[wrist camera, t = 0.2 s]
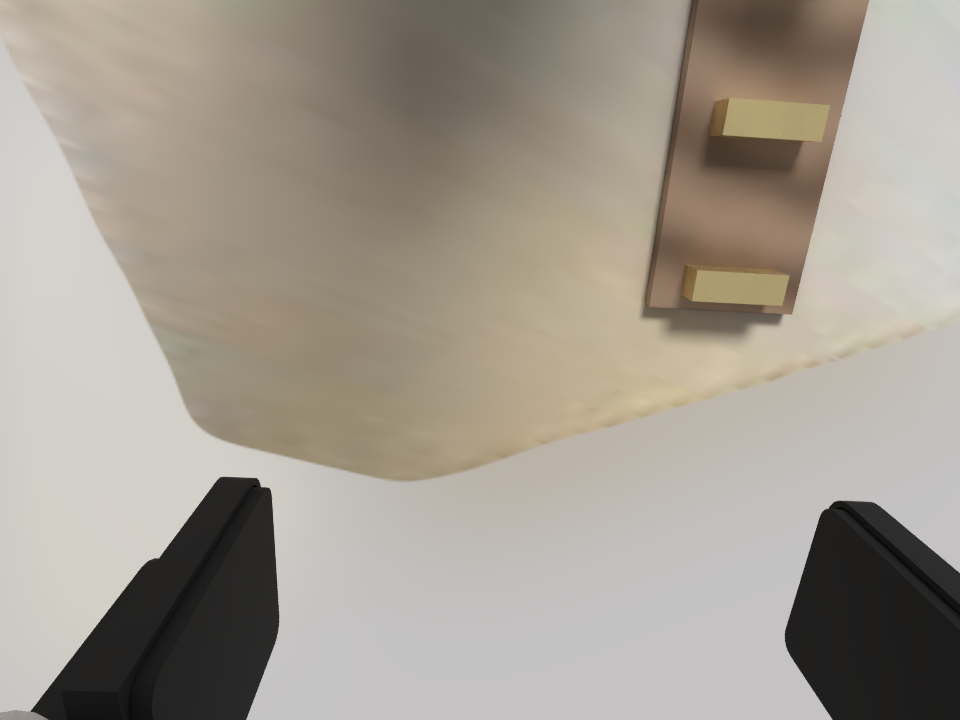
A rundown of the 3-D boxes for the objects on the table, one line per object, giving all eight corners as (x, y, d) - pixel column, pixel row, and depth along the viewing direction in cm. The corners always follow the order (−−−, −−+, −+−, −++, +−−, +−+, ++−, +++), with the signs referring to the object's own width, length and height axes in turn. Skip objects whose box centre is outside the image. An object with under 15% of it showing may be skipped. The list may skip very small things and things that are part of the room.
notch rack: (748, -355, 29) (780, -410, 26) (939, -334, 30) (989, -385, 27) (645, 303, 40) (658, 314, 38) (784, 310, 41) (808, 322, 38)
